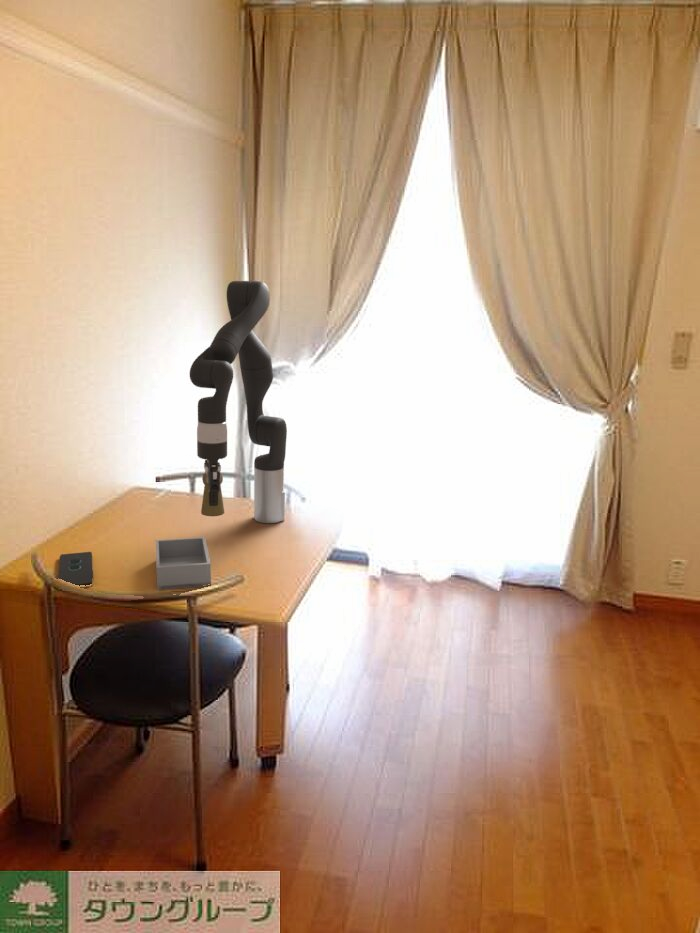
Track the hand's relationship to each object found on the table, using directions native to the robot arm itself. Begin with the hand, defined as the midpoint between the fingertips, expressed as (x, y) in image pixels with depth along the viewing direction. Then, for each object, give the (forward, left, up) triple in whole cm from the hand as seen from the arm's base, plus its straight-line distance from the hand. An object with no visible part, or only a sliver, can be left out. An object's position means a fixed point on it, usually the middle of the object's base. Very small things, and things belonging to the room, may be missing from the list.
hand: (212, 502), depth 180 cm
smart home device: (+35, -3, -19) cm, 40 cm away
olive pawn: (0, 0, -3) cm, 3 cm away
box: (+8, +3, -18) cm, 20 cm away
